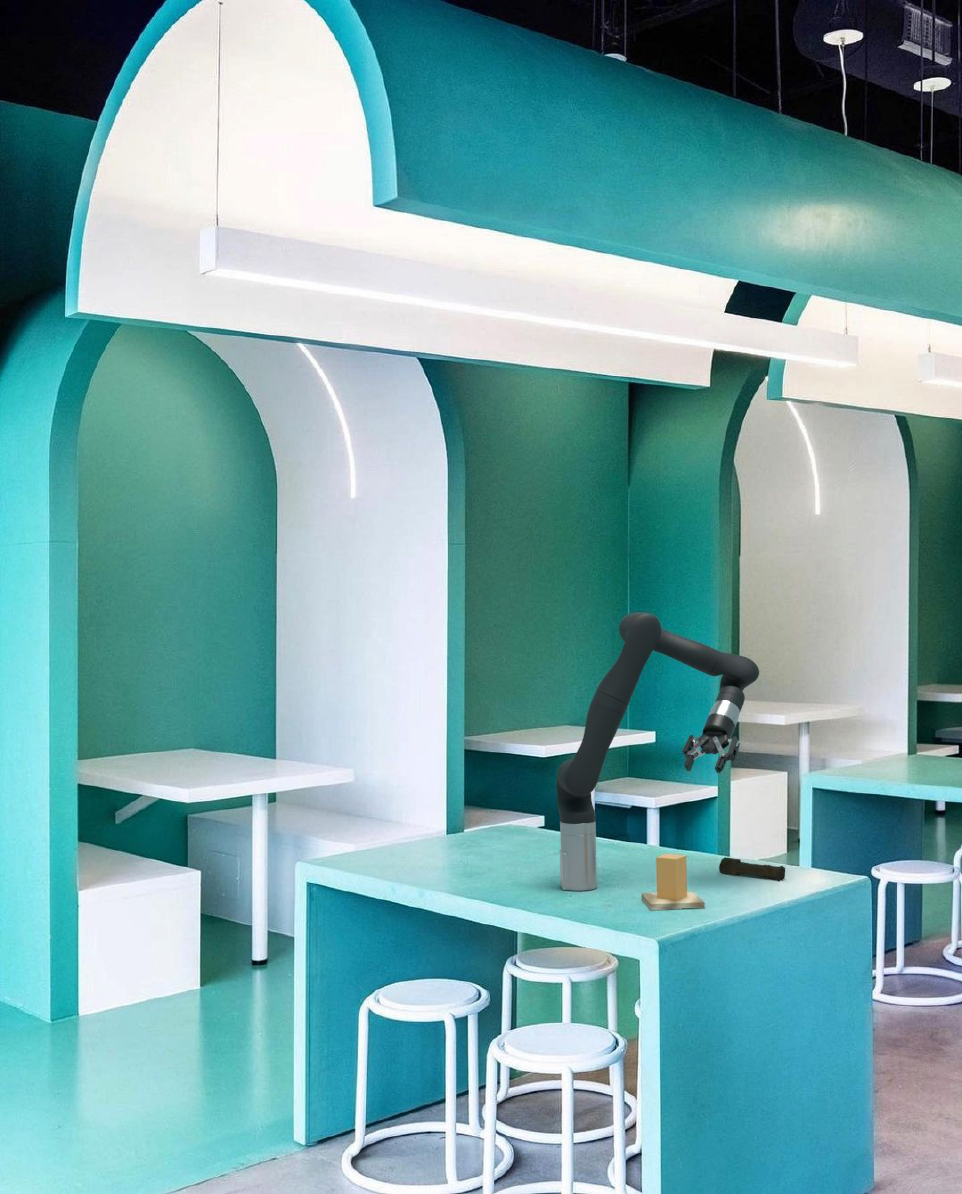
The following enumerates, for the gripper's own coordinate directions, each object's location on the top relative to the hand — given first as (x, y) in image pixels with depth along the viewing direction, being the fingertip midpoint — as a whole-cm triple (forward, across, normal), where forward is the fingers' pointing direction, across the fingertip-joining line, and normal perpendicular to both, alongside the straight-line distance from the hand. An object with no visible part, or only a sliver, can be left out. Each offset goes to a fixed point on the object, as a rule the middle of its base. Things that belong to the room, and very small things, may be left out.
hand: (702, 770), depth 353 cm
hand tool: (+7, +2, +37) cm, 38 cm away
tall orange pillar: (+33, 0, +8) cm, 34 cm away
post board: (+34, 0, +9) cm, 35 cm away
